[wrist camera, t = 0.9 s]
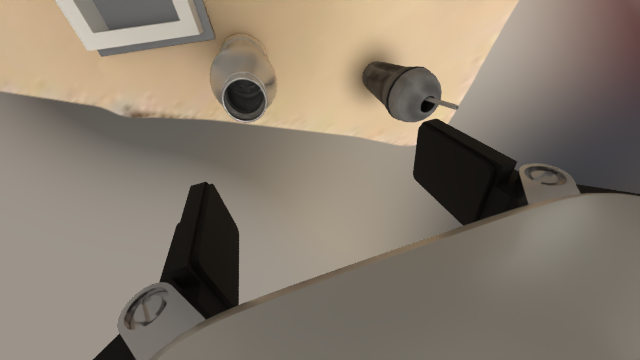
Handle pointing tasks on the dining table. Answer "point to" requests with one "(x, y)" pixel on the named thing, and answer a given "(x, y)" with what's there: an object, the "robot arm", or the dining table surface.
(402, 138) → the dining table surface
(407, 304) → the robot arm
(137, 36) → the socket
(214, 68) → the plastic bottle
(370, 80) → the beverage cup
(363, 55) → the dining table surface
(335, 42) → the dining table surface
